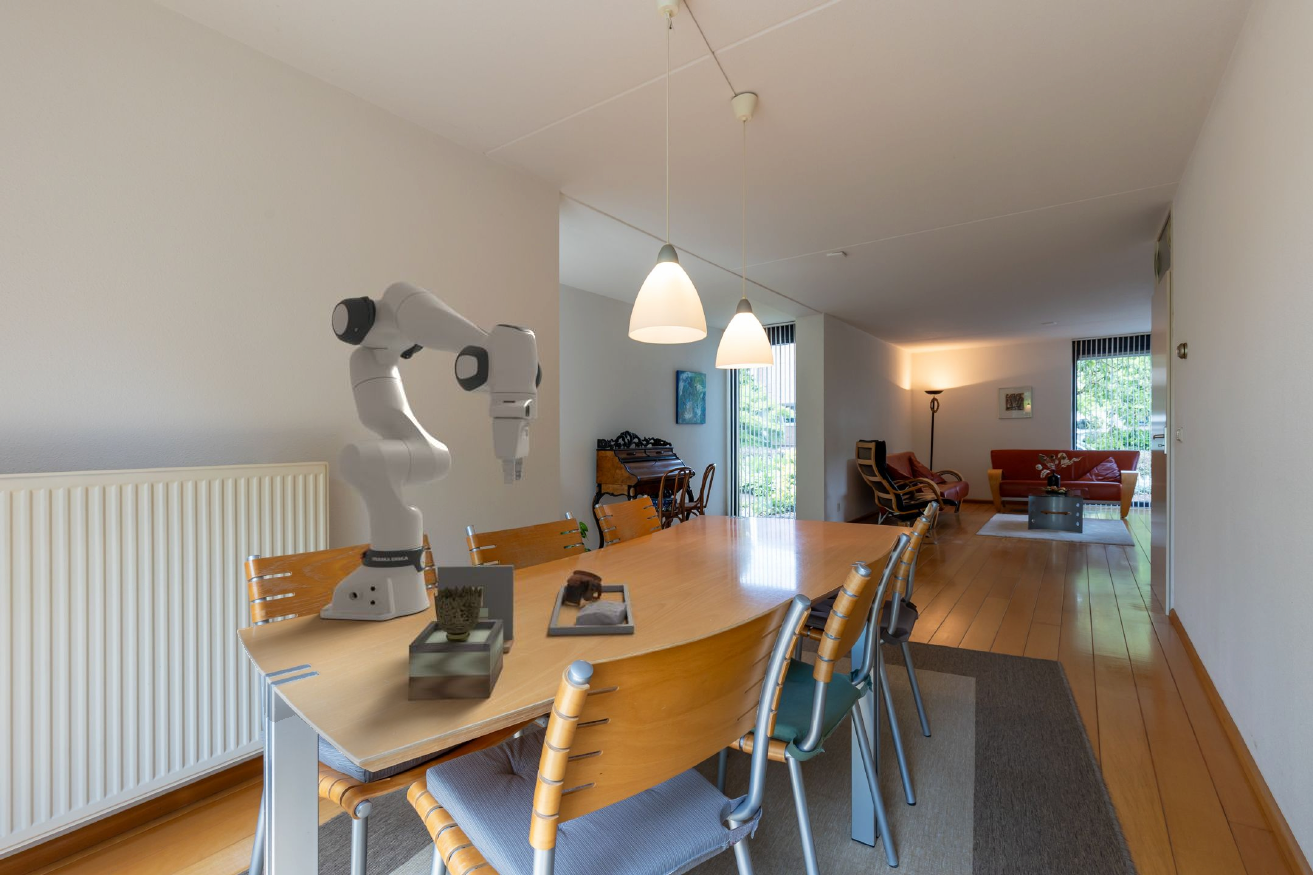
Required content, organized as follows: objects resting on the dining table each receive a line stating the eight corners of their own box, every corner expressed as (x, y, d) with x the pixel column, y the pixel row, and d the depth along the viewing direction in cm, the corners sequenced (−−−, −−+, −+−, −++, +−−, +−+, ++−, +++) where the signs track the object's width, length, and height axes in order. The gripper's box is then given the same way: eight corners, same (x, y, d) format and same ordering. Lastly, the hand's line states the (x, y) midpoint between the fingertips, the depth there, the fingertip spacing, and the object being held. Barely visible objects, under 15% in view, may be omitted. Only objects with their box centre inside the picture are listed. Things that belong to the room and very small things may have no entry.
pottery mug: (553, 601, 146) (564, 569, 149) (586, 613, 150) (595, 582, 153) (575, 599, 136) (586, 565, 140) (609, 613, 140) (619, 579, 144)
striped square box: (408, 699, 90) (408, 645, 90) (431, 668, 102) (431, 620, 102) (489, 697, 91) (490, 643, 91) (502, 666, 103) (503, 619, 103)
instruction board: (431, 654, 109) (431, 572, 108) (440, 642, 114) (440, 564, 114) (509, 652, 110) (509, 570, 110) (514, 641, 116) (514, 563, 116)
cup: (447, 631, 100) (448, 583, 100) (489, 633, 99) (489, 585, 99) (424, 647, 92) (424, 595, 92) (469, 649, 91) (469, 597, 91)
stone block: (574, 640, 122) (621, 632, 121) (570, 616, 123) (617, 608, 122) (587, 624, 134) (630, 616, 133) (583, 602, 134) (626, 595, 133)
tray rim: (549, 635, 119) (549, 627, 119) (560, 591, 153) (561, 585, 153) (634, 633, 121) (634, 625, 121) (627, 589, 155) (627, 584, 155)
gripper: (505, 411, 124) (505, 478, 124) (486, 406, 103) (486, 486, 103) (536, 412, 124) (536, 478, 124) (523, 407, 104) (523, 486, 104)
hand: (513, 482), depth 114 cm, fingers open, 8 cm apart
